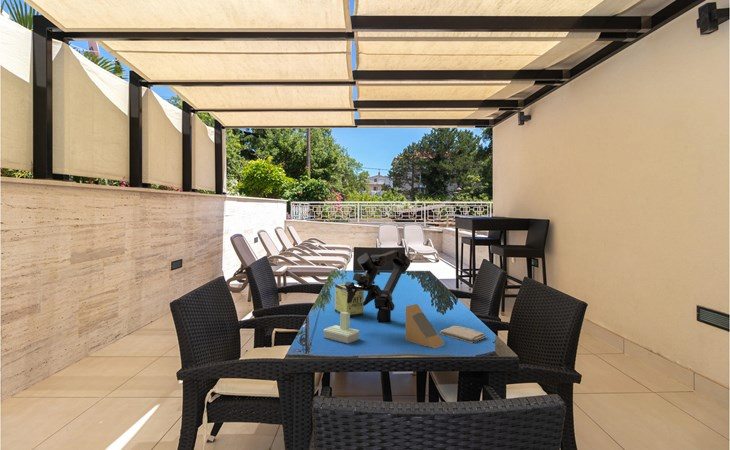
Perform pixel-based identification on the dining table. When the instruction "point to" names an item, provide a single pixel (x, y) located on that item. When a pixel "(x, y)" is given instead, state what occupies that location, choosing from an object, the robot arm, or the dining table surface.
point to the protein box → (353, 306)
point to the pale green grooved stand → (343, 326)
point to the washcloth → (463, 334)
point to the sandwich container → (420, 328)
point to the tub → (341, 337)
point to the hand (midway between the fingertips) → (355, 304)
